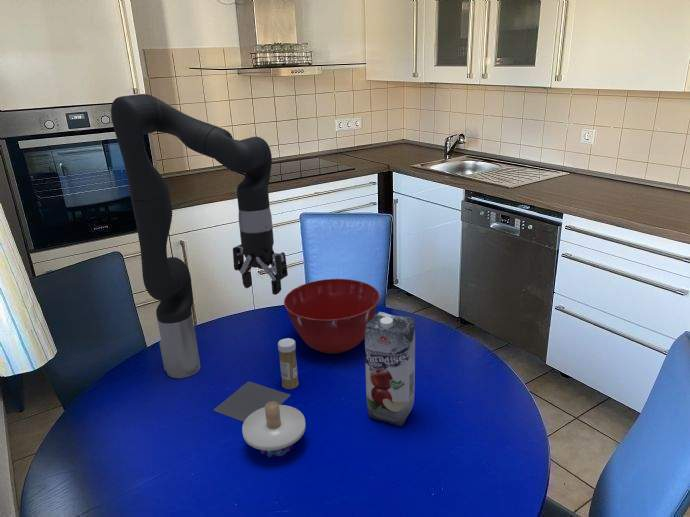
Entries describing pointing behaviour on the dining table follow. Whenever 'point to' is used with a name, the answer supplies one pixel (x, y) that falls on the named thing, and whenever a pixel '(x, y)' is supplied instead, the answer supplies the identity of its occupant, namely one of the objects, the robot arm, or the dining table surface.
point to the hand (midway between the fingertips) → (262, 290)
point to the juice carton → (390, 367)
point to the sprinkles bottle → (288, 363)
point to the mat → (249, 400)
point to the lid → (273, 427)
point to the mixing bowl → (332, 313)
